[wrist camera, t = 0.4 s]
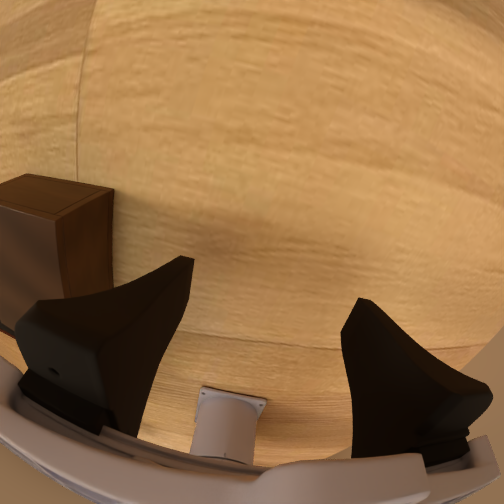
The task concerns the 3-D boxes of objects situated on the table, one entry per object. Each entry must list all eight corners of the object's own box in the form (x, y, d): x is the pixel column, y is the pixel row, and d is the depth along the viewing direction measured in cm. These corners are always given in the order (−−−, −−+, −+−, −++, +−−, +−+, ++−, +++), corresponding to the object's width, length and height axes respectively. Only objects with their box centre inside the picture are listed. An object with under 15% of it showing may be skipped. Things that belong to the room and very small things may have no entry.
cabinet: (115, 316, 26) (82, 367, 19) (38, 286, 26) (1, 322, 19) (114, 188, 20) (55, 221, 13) (26, 173, 20) (-29, 196, 13)
